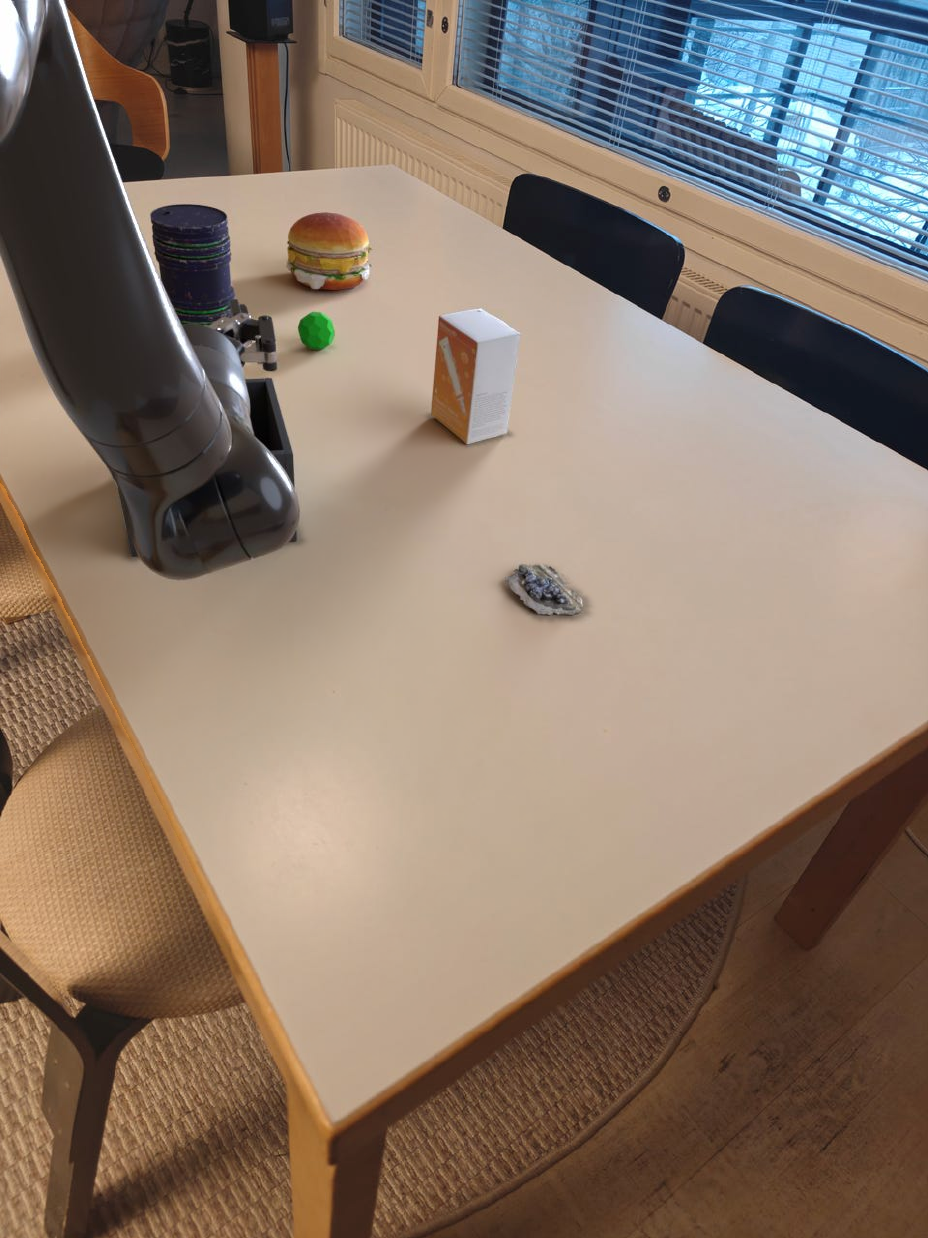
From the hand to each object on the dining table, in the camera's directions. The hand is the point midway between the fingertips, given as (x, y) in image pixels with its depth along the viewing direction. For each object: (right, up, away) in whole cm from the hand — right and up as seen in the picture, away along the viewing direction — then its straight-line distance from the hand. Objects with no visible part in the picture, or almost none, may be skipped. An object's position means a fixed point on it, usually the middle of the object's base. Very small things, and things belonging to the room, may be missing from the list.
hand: (186, 310), depth 78 cm
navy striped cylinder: (-12, +13, +44) cm, 47 cm away
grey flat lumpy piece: (+33, -26, +6) cm, 42 cm away
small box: (+26, -4, +30) cm, 39 cm away
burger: (+3, +27, +62) cm, 67 cm away
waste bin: (-1, -16, +11) cm, 20 cm away
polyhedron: (+5, +10, +42) cm, 44 cm away
